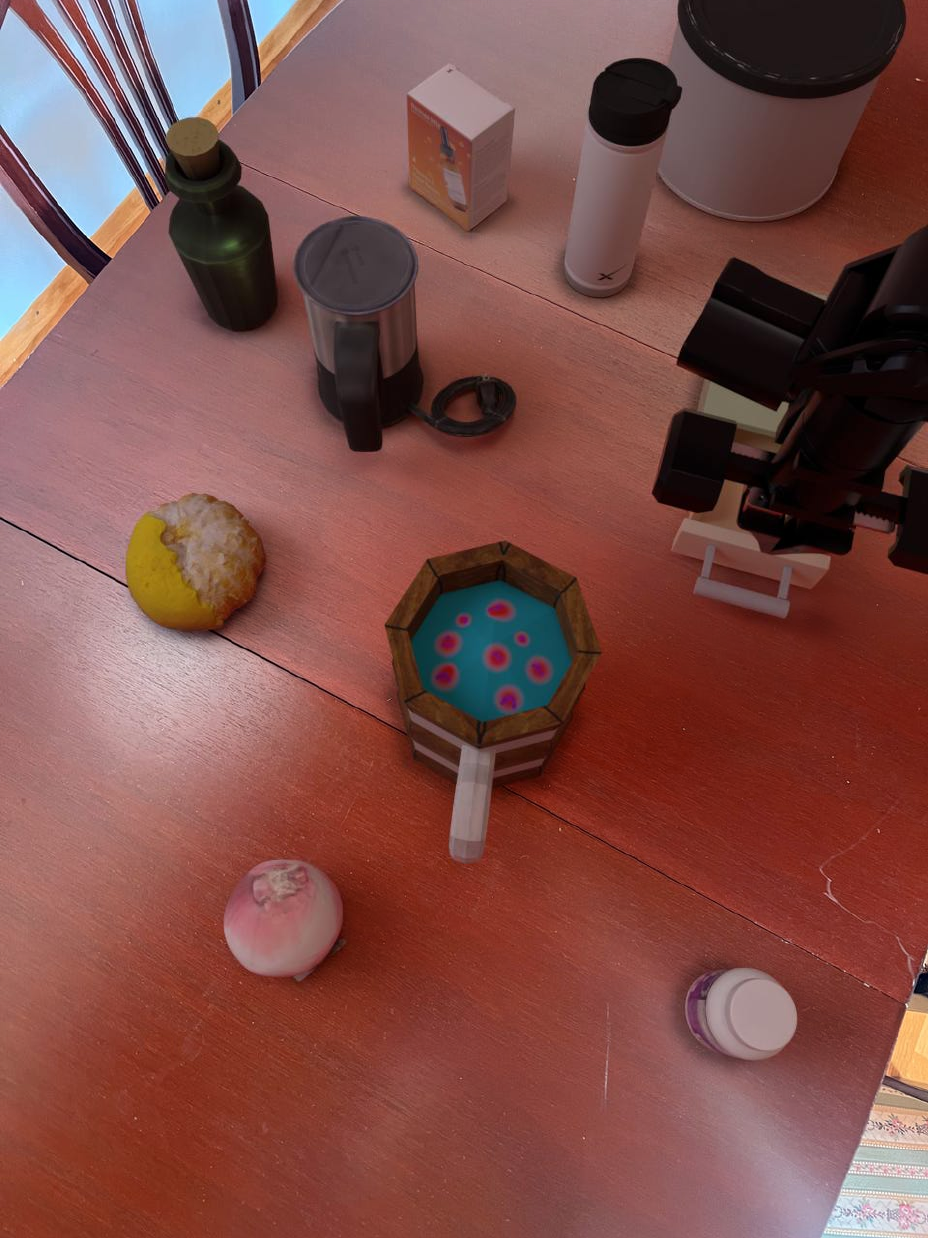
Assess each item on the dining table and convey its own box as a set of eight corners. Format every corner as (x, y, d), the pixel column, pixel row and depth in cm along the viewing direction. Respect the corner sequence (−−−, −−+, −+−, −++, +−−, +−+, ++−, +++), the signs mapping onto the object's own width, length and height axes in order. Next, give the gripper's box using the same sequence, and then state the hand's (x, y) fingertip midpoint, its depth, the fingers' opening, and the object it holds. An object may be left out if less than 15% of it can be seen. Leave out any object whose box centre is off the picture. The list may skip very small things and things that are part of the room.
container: (611, 118, 95) (638, -33, 81) (766, 56, 99) (819, -98, 85) (716, 250, 89) (765, 112, 75) (878, 180, 93) (953, 35, 79)
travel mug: (615, 310, 87) (661, 122, 68) (551, 281, 88) (578, 88, 69) (645, 262, 89) (697, 68, 70) (581, 234, 90) (616, 36, 71)
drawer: (802, 637, 74) (820, 619, 71) (659, 597, 75) (669, 578, 72) (836, 449, 80) (854, 424, 77) (703, 415, 82) (715, 388, 78)
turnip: (350, 865, 68) (339, 851, 62) (348, 980, 65) (336, 979, 59) (238, 867, 68) (215, 853, 61) (231, 983, 65) (205, 982, 59)
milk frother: (306, 354, 84) (278, 229, 70) (475, 311, 86) (480, 181, 72) (349, 490, 79) (328, 384, 66) (528, 440, 81) (544, 328, 68)
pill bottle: (741, 958, 66) (787, 953, 57) (774, 1038, 64) (826, 1045, 56) (670, 985, 66) (704, 983, 57) (701, 1065, 64) (741, 1077, 55)
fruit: (278, 632, 74) (226, 598, 67) (159, 653, 77) (96, 622, 69) (276, 503, 78) (227, 458, 71) (163, 527, 81) (105, 486, 73)
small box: (408, 188, 91) (403, 91, 82) (449, 157, 93) (449, 58, 83) (468, 234, 90) (471, 140, 80) (509, 201, 91) (516, 105, 81)
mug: (410, 613, 75) (400, 527, 61) (580, 634, 75) (610, 552, 61) (369, 866, 68) (348, 833, 54) (557, 891, 68) (584, 865, 54)
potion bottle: (210, 261, 88) (153, 88, 71) (296, 273, 88) (259, 102, 71) (186, 332, 85) (121, 170, 68) (276, 345, 85) (232, 185, 68)
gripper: (1034, 352, 55) (912, 486, 70) (717, 275, 57) (662, 421, 71) (1019, 517, 51) (892, 622, 66) (678, 429, 53) (629, 550, 67)
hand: (767, 547), depth 68 cm, fingers closed
